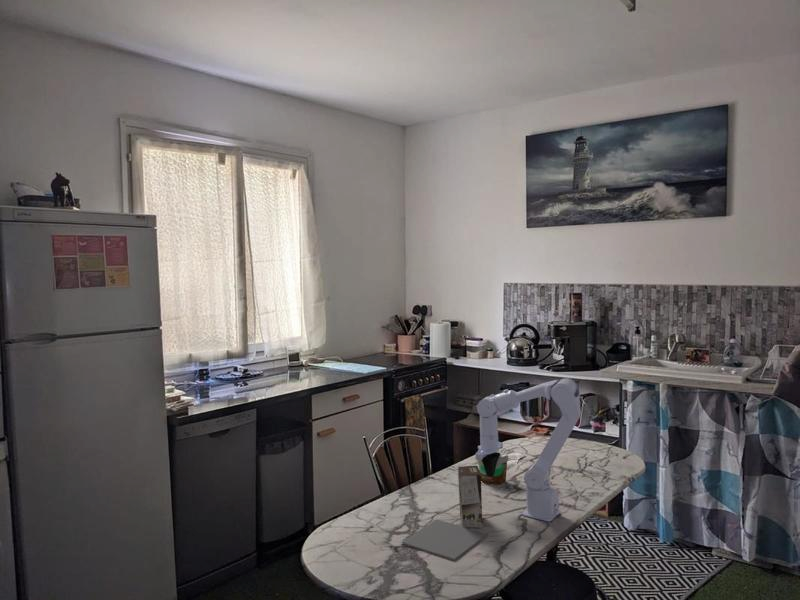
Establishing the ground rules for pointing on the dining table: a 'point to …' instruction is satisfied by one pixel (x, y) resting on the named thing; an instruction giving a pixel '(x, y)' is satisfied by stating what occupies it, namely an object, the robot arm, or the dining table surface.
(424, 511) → the dining table surface
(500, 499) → the dining table surface
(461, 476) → the coffee box
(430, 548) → the mat
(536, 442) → the dining table surface
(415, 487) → the dining table surface
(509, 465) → the cloth
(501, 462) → the food container
